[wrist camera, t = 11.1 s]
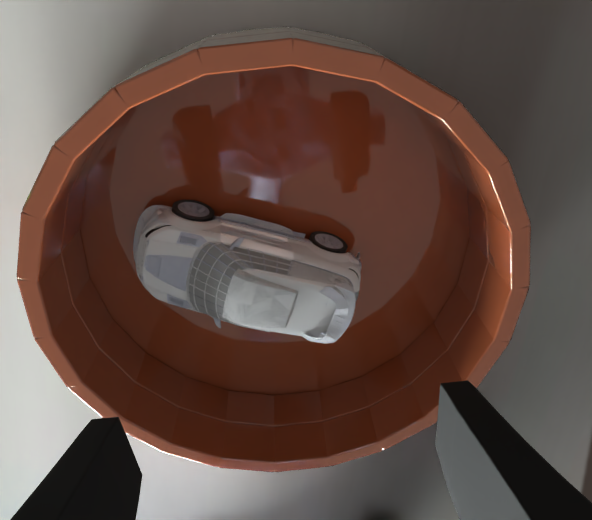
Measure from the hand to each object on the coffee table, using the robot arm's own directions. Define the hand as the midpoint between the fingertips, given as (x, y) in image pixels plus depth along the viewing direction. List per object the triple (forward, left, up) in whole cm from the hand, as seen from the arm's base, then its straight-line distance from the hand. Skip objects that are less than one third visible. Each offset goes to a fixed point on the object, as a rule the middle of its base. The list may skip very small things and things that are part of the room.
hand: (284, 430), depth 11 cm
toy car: (0, +1, -8) cm, 8 cm away
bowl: (0, 0, -8) cm, 8 cm away
